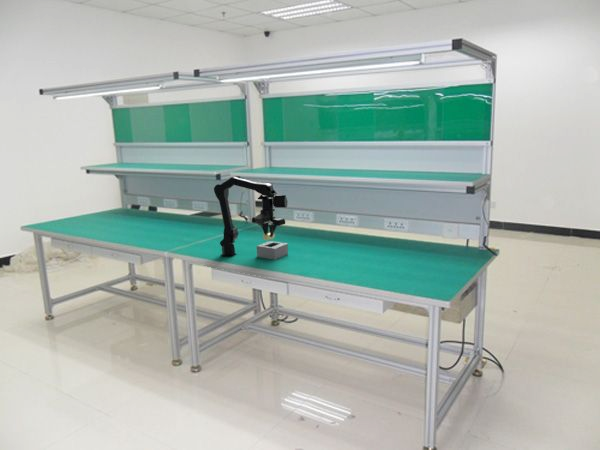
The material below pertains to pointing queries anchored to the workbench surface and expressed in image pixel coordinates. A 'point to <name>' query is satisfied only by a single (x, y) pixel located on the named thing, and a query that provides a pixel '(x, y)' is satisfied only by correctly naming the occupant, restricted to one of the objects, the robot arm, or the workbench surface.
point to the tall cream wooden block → (268, 236)
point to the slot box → (272, 250)
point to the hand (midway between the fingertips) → (268, 236)
